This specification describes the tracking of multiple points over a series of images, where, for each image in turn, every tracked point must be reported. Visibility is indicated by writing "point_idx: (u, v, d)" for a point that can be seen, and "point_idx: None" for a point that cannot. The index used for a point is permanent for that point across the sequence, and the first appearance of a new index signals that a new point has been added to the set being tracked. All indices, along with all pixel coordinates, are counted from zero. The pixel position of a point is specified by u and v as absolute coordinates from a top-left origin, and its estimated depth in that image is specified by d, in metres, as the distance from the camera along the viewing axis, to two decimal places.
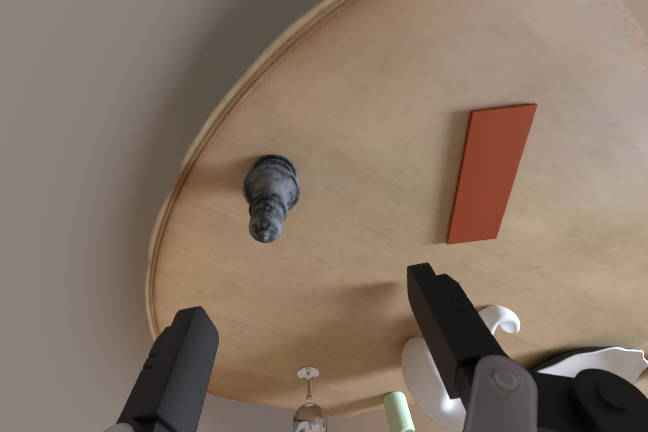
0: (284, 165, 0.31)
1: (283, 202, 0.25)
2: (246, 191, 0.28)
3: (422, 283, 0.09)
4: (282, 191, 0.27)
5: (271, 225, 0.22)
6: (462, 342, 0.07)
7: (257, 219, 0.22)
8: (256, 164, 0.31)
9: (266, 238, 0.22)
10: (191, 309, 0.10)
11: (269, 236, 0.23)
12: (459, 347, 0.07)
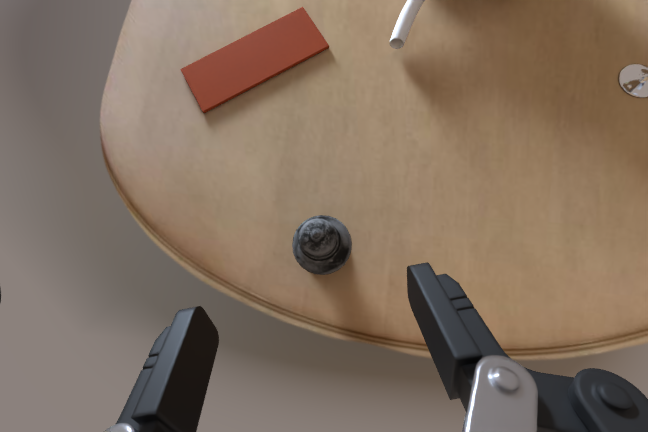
0: None
1: None
2: (331, 269, 0.27)
3: (422, 283, 0.09)
4: None
5: (305, 231, 0.20)
6: (462, 342, 0.07)
7: (306, 248, 0.20)
8: None
9: (314, 231, 0.20)
10: (191, 309, 0.10)
11: (317, 229, 0.20)
12: (459, 347, 0.07)
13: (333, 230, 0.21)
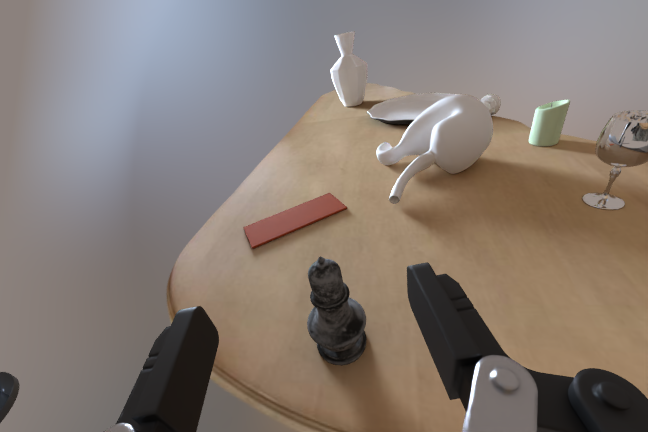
0: None
1: None
2: (344, 341, 0.25)
3: (422, 283, 0.09)
4: None
5: (312, 265, 0.24)
6: (462, 342, 0.07)
7: (312, 277, 0.23)
8: (332, 360, 0.28)
9: (319, 258, 0.23)
10: (191, 309, 0.10)
11: None
12: (459, 347, 0.07)
13: (337, 264, 0.24)
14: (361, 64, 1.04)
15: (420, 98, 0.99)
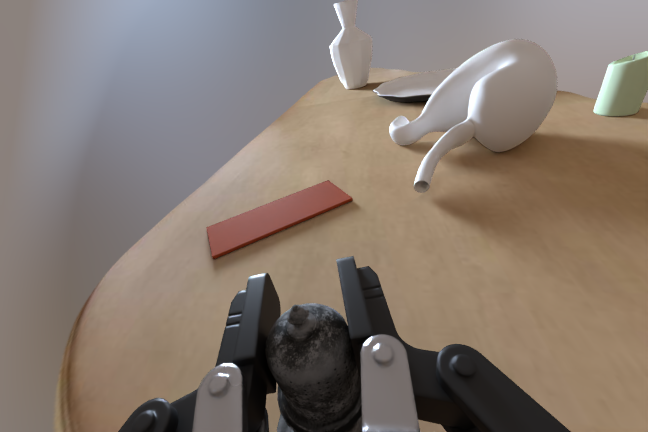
0: None
1: None
2: None
3: (342, 274, 0.10)
4: None
5: (278, 324, 0.09)
6: (360, 324, 0.08)
7: (274, 364, 0.08)
8: None
9: None
10: (261, 275, 0.11)
11: None
12: (356, 328, 0.08)
13: (342, 322, 0.09)
14: (365, 37, 0.89)
15: (435, 75, 0.84)
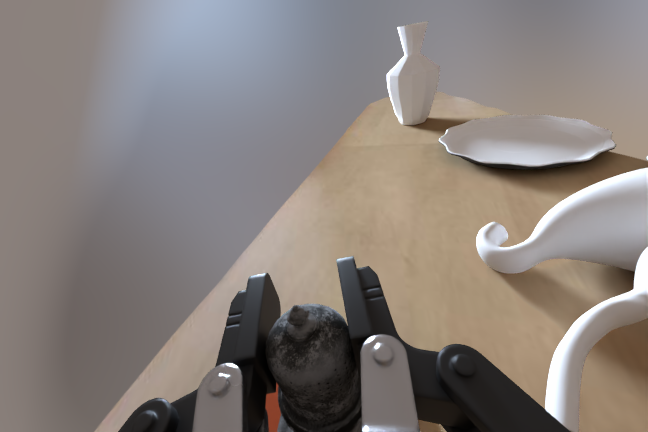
0: None
1: None
2: None
3: (342, 274, 0.10)
4: None
5: (278, 324, 0.09)
6: (360, 324, 0.08)
7: (274, 364, 0.08)
8: None
9: None
10: (261, 275, 0.11)
11: None
12: (356, 328, 0.08)
13: (343, 322, 0.09)
14: (432, 68, 0.74)
15: (520, 122, 0.67)
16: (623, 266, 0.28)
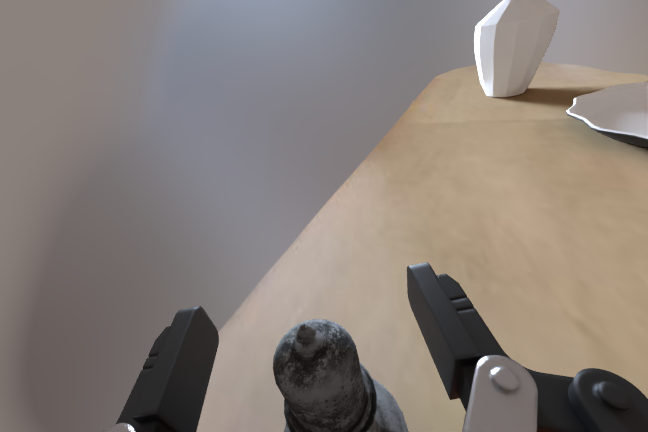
0: None
1: None
2: None
3: (422, 283, 0.09)
4: None
5: (285, 340, 0.09)
6: (462, 342, 0.07)
7: (283, 381, 0.08)
8: None
9: None
10: (191, 309, 0.10)
11: None
12: (459, 347, 0.07)
13: (349, 339, 0.09)
14: (551, 11, 0.51)
15: None
16: None
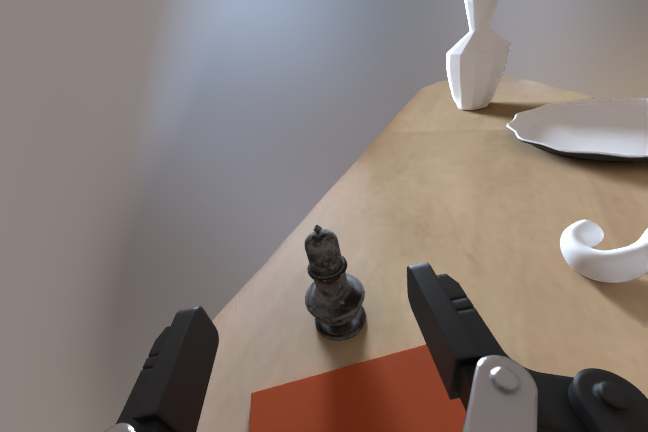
0: None
1: None
2: (342, 314, 0.25)
3: (422, 283, 0.09)
4: None
5: (309, 235, 0.24)
6: (462, 342, 0.07)
7: (309, 246, 0.23)
8: (331, 336, 0.27)
9: (315, 226, 0.23)
10: (191, 309, 0.10)
11: None
12: (459, 347, 0.07)
13: (334, 234, 0.23)
14: (502, 44, 0.65)
15: (610, 106, 0.57)
16: None
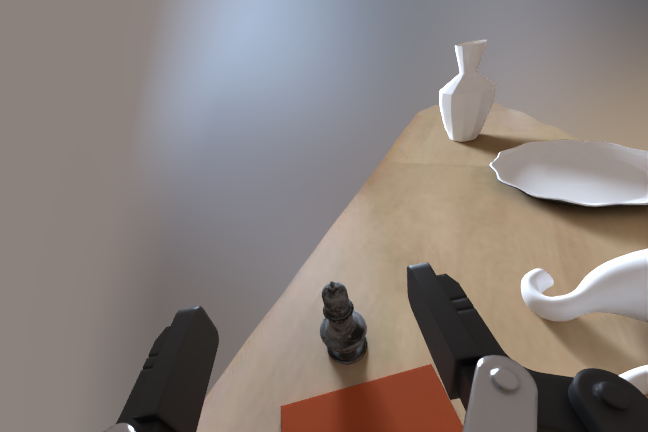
0: None
1: None
2: (350, 345, 0.33)
3: (422, 283, 0.09)
4: None
5: (325, 287, 0.31)
6: (462, 342, 0.07)
7: (326, 297, 0.30)
8: (340, 360, 0.35)
9: (330, 282, 0.31)
10: (191, 309, 0.10)
11: None
12: (459, 347, 0.07)
13: (344, 287, 0.31)
14: (488, 87, 0.73)
15: (580, 148, 0.65)
16: None
